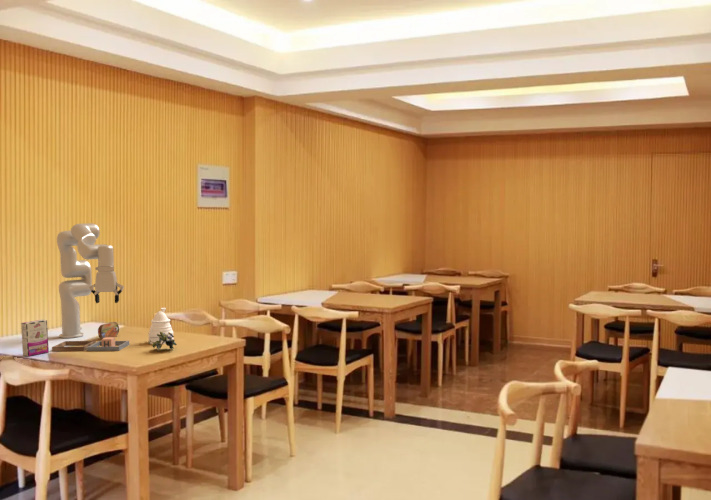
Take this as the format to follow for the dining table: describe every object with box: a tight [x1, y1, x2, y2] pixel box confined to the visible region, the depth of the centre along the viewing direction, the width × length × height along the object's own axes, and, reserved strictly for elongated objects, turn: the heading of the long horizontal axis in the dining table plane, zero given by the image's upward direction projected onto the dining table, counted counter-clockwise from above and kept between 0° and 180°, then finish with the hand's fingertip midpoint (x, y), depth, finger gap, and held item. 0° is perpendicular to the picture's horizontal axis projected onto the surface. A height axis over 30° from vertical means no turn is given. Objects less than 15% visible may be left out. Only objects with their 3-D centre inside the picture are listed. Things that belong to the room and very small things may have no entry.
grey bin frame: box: [86, 340, 130, 352], centre depth 349 cm, size 16×16×2 cm
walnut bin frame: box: [51, 340, 97, 352], centre depth 349 cm, size 16×16×2 cm
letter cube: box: [101, 337, 116, 347], centre depth 348 cm, size 5×5×5 cm
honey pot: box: [148, 307, 175, 345], centre depth 362 cm, size 13×13×18 cm
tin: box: [97, 321, 120, 340], centre depth 376 cm, size 15×3×8 cm, turn 161°
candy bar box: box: [20, 319, 50, 357], centre depth 334 cm, size 11×5×16 cm, turn 148°
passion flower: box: [148, 332, 178, 353], centre depth 340 cm, size 11×11×12 cm
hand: (107, 302), depth 347 cm, fingers open, 9 cm apart
